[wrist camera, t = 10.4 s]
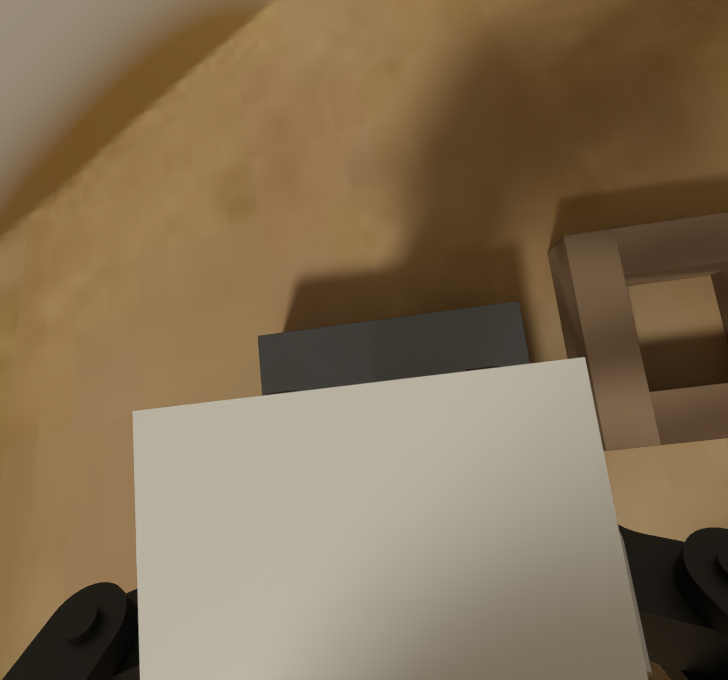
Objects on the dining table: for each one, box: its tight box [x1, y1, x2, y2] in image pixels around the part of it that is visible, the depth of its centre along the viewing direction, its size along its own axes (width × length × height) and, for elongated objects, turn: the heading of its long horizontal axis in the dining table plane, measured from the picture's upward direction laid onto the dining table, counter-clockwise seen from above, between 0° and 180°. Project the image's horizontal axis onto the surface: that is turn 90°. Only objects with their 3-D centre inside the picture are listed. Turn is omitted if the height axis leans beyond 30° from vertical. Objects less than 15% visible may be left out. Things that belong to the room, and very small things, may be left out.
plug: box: [133, 357, 648, 680], centre depth 10 cm, size 4×4×13 cm
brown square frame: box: [548, 212, 728, 451], centre depth 22 cm, size 10×10×2 cm
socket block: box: [258, 301, 530, 396], centre depth 21 cm, size 12×12×4 cm
